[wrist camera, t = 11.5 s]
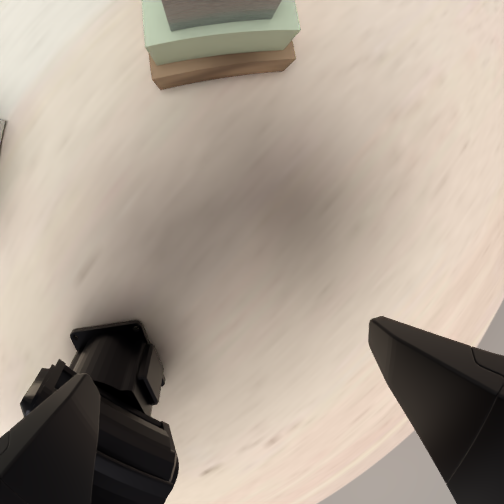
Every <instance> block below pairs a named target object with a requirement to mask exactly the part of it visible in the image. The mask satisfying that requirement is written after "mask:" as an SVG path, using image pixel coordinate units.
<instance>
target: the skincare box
mask: <svg viewBox="0 0 504 504" xmlns="http://www.w3.org/2000/svg"><path fill="white" fill-rule="evenodd" d="M4 125H5V121H4V120H1V119H0V143H1V138H2V133H3V129H4Z"/></svg>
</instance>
